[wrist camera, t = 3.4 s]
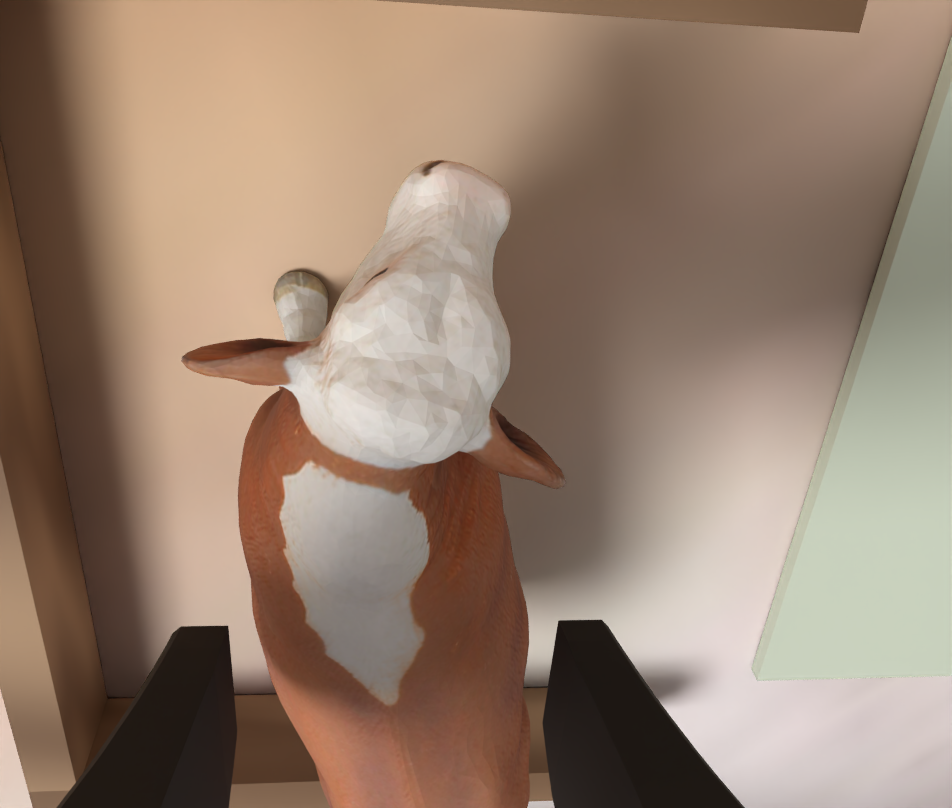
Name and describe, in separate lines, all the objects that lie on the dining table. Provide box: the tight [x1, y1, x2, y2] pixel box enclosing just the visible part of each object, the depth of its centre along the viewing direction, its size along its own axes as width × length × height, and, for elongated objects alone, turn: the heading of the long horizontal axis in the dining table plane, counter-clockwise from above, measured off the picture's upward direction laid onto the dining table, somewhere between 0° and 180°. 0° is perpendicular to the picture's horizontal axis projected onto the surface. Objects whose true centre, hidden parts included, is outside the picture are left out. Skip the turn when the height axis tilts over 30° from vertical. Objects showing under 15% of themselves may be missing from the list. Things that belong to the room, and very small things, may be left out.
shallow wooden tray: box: [0, 0, 868, 808], centre depth 17 cm, size 18×14×2 cm
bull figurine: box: [181, 160, 566, 808], centre depth 15 cm, size 4×13×8 cm, turn 1°
